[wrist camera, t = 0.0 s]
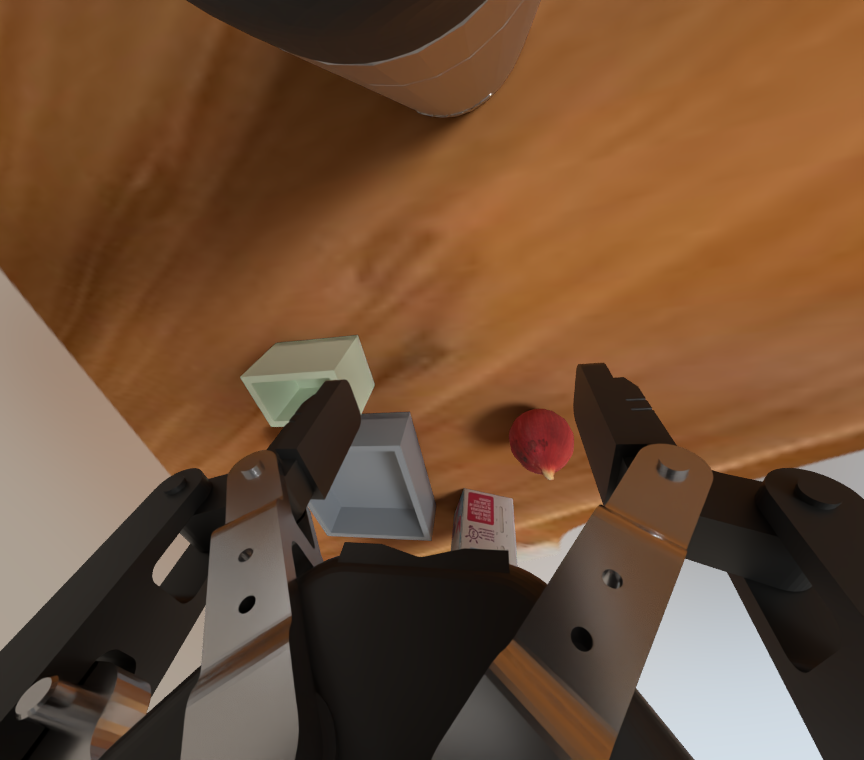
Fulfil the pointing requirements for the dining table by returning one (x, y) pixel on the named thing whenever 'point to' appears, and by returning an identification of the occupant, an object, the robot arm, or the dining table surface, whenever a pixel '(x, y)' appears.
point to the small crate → (306, 374)
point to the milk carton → (484, 523)
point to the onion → (541, 441)
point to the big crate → (380, 484)
